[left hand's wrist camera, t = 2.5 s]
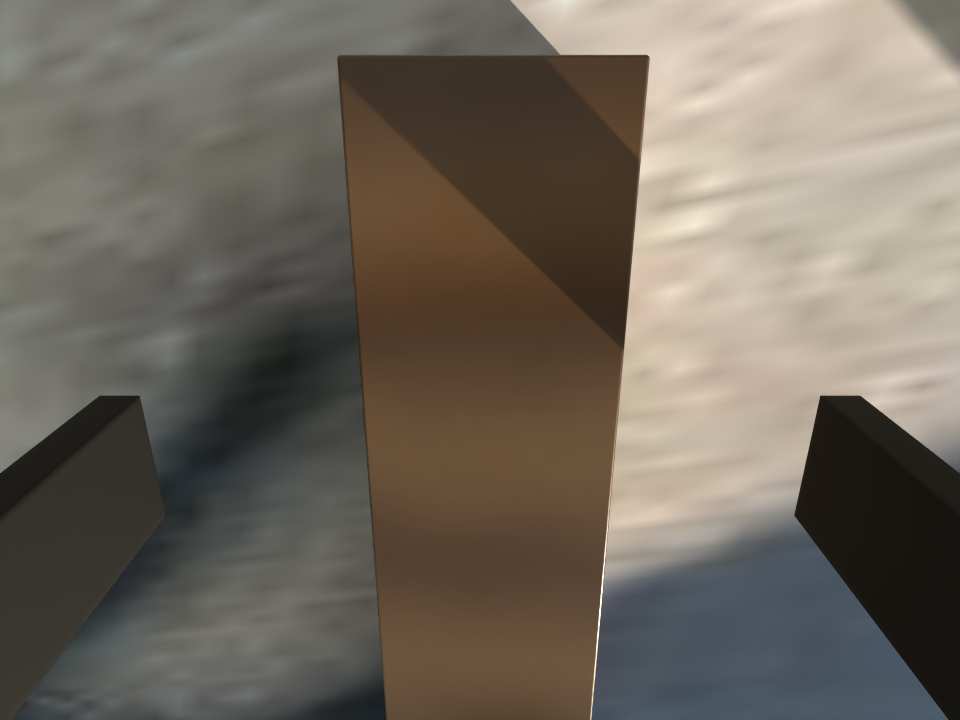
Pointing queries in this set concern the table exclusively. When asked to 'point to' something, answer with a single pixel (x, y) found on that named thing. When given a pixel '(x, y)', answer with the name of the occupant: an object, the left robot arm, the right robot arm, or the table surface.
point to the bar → (491, 364)
